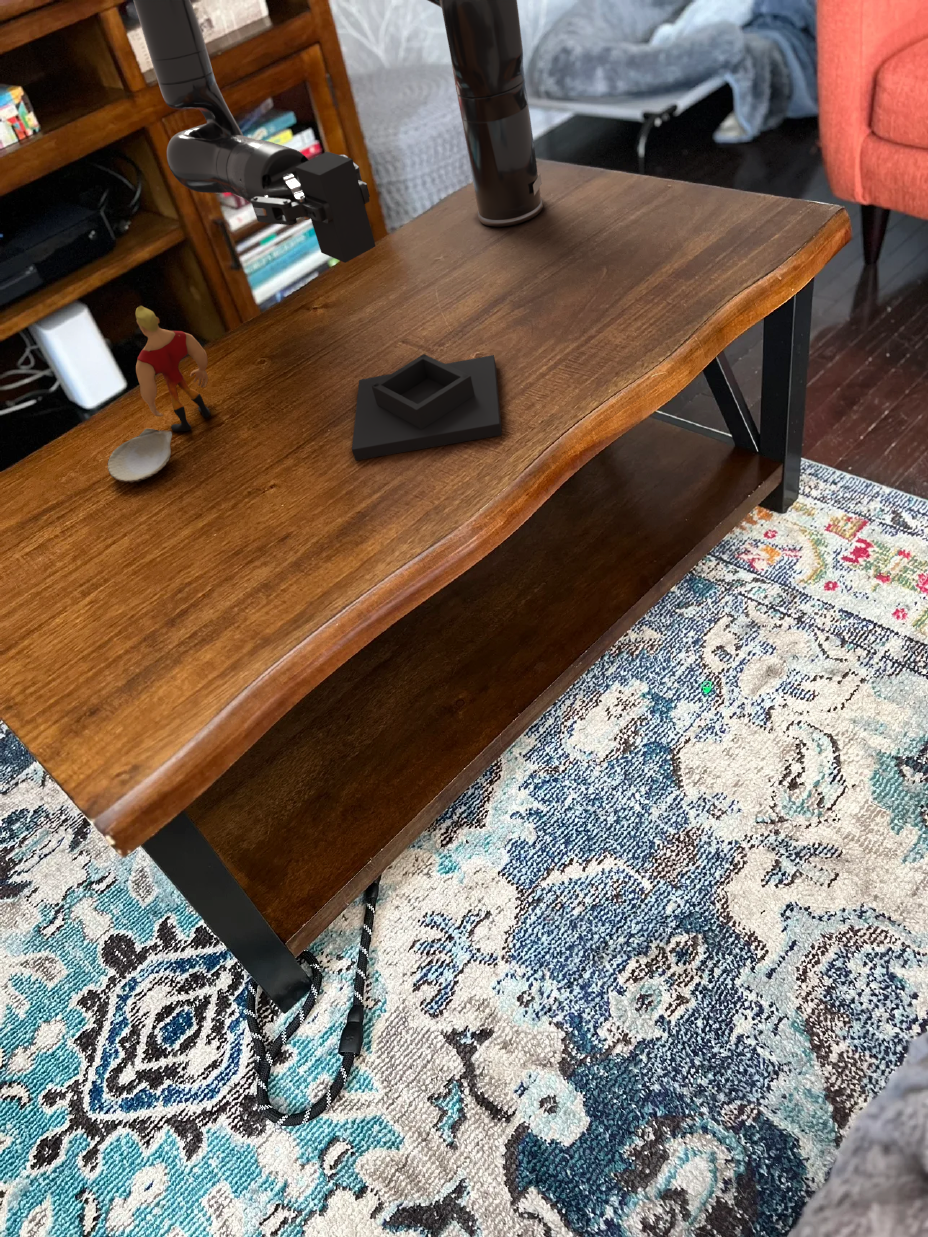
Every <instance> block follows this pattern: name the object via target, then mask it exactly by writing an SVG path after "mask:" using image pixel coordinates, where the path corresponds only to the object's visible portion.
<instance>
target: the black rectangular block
mask: <svg viewBox="0 0 928 1237" xmlns="http://www.w3.org/2000/svg"><path fill="white" fill-rule="evenodd" d="M341 155H342V154H337V153H333V152H330V151H325V152H323V153H321V154H318V155H317V156H315V157H313V158H311V159H309V161H307V162H305V163H302V164H300V165H298V166H296V167H295V169H296V172H297V175H298V179H299V182H300V185H301V188H302V192H303V193H305V194H306V195H307V197H309V196H312V197H315V198H318V199H320V200H323V201H326V202H327V203H328V204H329V206H330V209H331V213H332V216H333V221H331V222H329V223H328V224H327V223H324V222H319V221H315V220H313V219H310V221H311V224H312V228H313V230H314V234H315V237H316V241H317V243H318V248H319V250H320V253H321V254H323V255H325V256H328V257H330V258H332V259H334V260H338V261H340V262H342V263H343V264H344V263H347V262H349V261H351V260H353V259H355V258H357V257H359V256H361V255H362V254H365V253H366V252H368V251H370V250H372V249H373V248H376V243H375V240H374V239H375V238H374V235H373V232H372V227H371V223H370V220H369V216H368V212H367V208H366V204H364V201H363V197H362V193H361V189H360V185H359V182H358V178H357V174H356V170H355V166H354V163H355V162H354V159H353V158H350V157H348V156H347V157H348V158H347V157H344V156H341ZM353 162H354V163H353Z"/></svg>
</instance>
